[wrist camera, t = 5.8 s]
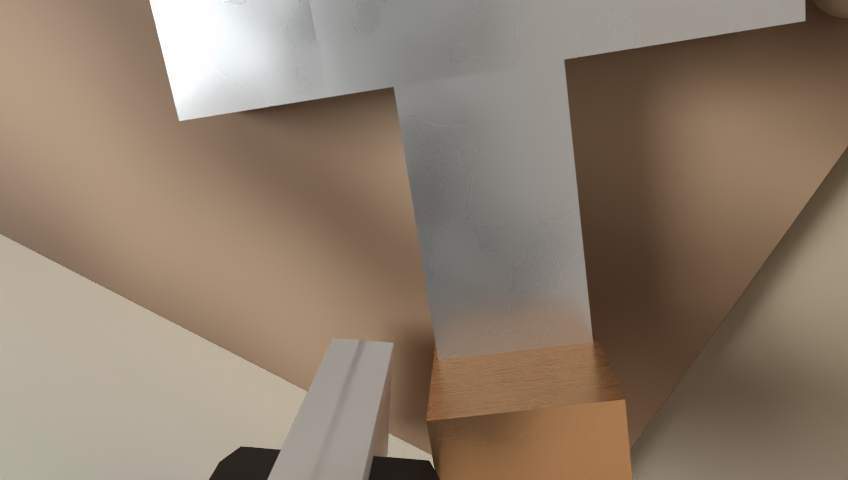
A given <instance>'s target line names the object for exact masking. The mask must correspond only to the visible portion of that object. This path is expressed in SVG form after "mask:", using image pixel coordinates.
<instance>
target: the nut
mask: <svg viewBox="0 0 848 480" xmlns="http://www.w3.org/2000/svg"><path fill="white" fill-rule="evenodd" d="M150 3H151V7H152V11H153V15H154V19H155V23H156V28H157V32H158V36H159V40H160V44H161V48H162V52H163V56H164V60H165V65H166V69H167V73H168V77H169V81H170V85H171V89H172V93H173V98H174V102H175V106H176V110H177V114H178V118H179V121H183V120H189V119H195V118H201V117H208V116H214V115H220V114H226V113H233V112H239V111H245V110H251V109H258V108H264V107H270V106H277V105H283V104H289V103H295V102H302V101H308V100H314V99H320V98H327V97H333V96H339V95H345V94H352V93H358V92H364V91H370V90H377V89H383V88H389V87H394V92H395V98H396V104H397V110H398V117H399V123H400V129H401V135H402V141H403V147H404V153H405V159H406V165H407V172H408V178H409V184H410V190H411V196H412V202H413V208H414V214H415V220H416V226H417V233H418V239H419V245H420V251H421V257H422V263H423V269H424V275H425V281H426V288H427V294H428V300H429V306H430V312H431V318H432V324H433V330H434V336H435V342H436V343H435V352H434V360H433V369H432V377H431V386H430V394H429V403H428V411H427V420H426V422H427V428H428V433H429V439H430V445H431V451H432V457H433V462H434V468H435V471H436V473H437V475H438V477H439V478H440V480H632V469H631V458H630V447H629V436H628V425H627V415H626V404H625V398H624V396H623V394H622V392H621V389H620V387H619V385H618V383H617V381H616V379H615V377H614V374H613V372H612V370H611V368H610V366H609V364H608V361H607V359H606V357H605V355H604V353H603V351H602V348H601V346H600V344H599V342H598V340H597V338H596V335H595V333H594V331H593V329H592V327H591V317H590V308H589V298H588V288H587V278H586V269H585V259H584V249H583V239H582V230H581V220H580V210H579V200H578V191H577V181H576V171H575V161H574V151H573V142H572V132H571V122H570V112H569V103H568V93H567V83H566V73H565V64H564V59H571V58H577V57H583V56H589V55H596V54H602V53H608V52H614V51H621V50H627V49H633V48H640V47H646V46H652V45H658V44H665V43H671V42H677V41H683V40H690V39H696V38H702V37H708V36H715V35H721V34H727V33H733V32H740V31H746V30H752V29H758V28H765V27H771V26H777V25H783V24H790V23H796V22H802V21H805V0H150Z"/></svg>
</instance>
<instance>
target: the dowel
mask: <svg viewBox="0 0 848 480" xmlns="http://www.w3.org/2000/svg"><path fill="white" fill-rule="evenodd" d="M812 2H813V3H814V4H815V5H816V6H817V7H818V8H819V9H820V10H822V11H823V12H825V13H827V14H829V15H831V16H835V17H839V18H848V0H812Z"/></svg>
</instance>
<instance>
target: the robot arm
mask: <svg viewBox="0 0 848 480" xmlns="http://www.w3.org/2000/svg"><path fill="white" fill-rule="evenodd" d="M393 346H394V343H391V342H379V341H367V340H355V339H342V338H332V340H331V342H330V344H329V346H328V349H327V351H326V353H325V355H324V357H323V359H322V362H321V364H320V366H319V368H318V370H317V373H316V375H315V377H314V379H313V381H312V383H311V386H310V388H309V390H308V392H307V394H306V396H305V399H304V401H303V403H302V405H301V407H300V410H299V412H298V414H297V416H296V418H295V420H294V423H293V425H292V427H291V429H290V431H289V434H288V436H287V438H286V440H285V442H284V444H283V447H282V449H281V450H276V449H264V448H253V447H240V448H238V449H237V450H235V451H234V452H233V453H231V454H230V455H229V456H227V457H226V458H224V459H223V460H222V461H220V462H219V464H218V466H217V467H216V469H215V471H214V472H213V474H212V476H211V477H210V479H209V480H440V478H439V477H438V475H437V473H436V471H435V470H434V468H433V466H432V465H431V463H430V461H427V460H415V459H404V458H392V457H387V452H388V434H389V416H390V399H391V381H392V363H393Z"/></svg>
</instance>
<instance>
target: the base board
mask: <svg viewBox="0 0 848 480" xmlns="http://www.w3.org/2000/svg"><path fill="white" fill-rule="evenodd" d="M564 64H565V73H566V83H567V93H568V103H569V112H570V122H571V132H572V142H573V151H574V161H575V171H576V181H577V191H578V200H579V210H580V220H581V230H582V239H583V249H584V259H585V269H586V278H587V288H588V298H589V308H590V317H591V327H592V329H593V331H594V333H595V335H596V338H597V340H598V342H599V344H600V346H601V348H602V351H603V353H604V355H605V357H606V359H607V361H608V364H609V366H610V368H611V370H612V372H613V374H614V377H615V379H616V381H617V383H618V385H619V387H620V389H621V392H622V394H623V396H624V398H625V404H626V415H627V425H628V436H629V447H630V449H631V447H632V446H633V445H634V443H635V442H636V440H637V439H638V438H639V436H640V435H641V434H642V432H643V431H644V429H645V428H646V427H647V425H648V424H649V422H650V421H651V420H652V418H653V417H654V415H655V414H656V413H657V411H658V410H659V408H660V407H661V406H662V404H663V403H664V401H665V400H666V399H667V397H668V396H669V394H670V393H671V392H672V390H673V389H674V388H675V386H676V385H677V383H678V382H679V381H680V379H681V378H682V376H683V375H684V374H685V372H686V371H687V369H688V368H689V367H690V365H691V364H692V362H693V361H694V360H695V358H696V357H697V355H698V354H699V353H700V351H701V350H702V348H703V347H704V346H705V344H706V343H707V342H708V340H709V339H710V337H711V336H712V335H713V333H714V332H715V330H716V329H717V328H718V326H719V325H720V323H721V322H722V321H723V319H724V318H725V316H726V315H727V314H728V312H729V311H730V309H731V308H732V307H733V305H734V304H735V302H736V301H737V300H738V298H739V297H740V296H741V294H742V293H743V291H744V290H745V289H746V287H747V286H748V284H749V283H750V282H751V280H752V279H753V277H754V276H755V275H756V273H757V272H758V270H759V269H760V268H761V266H762V265H763V263H764V262H765V261H766V259H767V258H768V257H769V255H770V254H771V252H772V251H773V250H774V248H775V247H776V245H777V244H778V243H779V241H780V240H781V238H782V237H783V236H784V234H785V233H786V231H787V230H788V229H789V227H790V226H791V224H792V223H793V222H794V220H795V219H796V217H797V216H798V215H799V213H800V212H801V211H802V209H803V208H804V206H805V205H806V204H807V202H808V201H809V199H810V198H811V197H812V195H813V194H814V192H815V191H816V190H817V188H818V187H819V185H820V184H821V183H822V181H823V180H824V178H825V177H826V176H827V174H828V173H829V171H830V170H831V169H832V167H833V166H834V165H835V163H836V162H837V160H838V159H839V158H840V156H841V155H842V153H843V152H844V151H845V149H846V148H847V146H848V18H839V17H835V16H831V15H829V14H827V13H825V12H823V11H822V10H820V9H819V8H818V7H817V6H816V5H815V4H814V3H813V2H812V0H805V21H802V22H796V23H790V24H783V25H777V26H771V27H765V28H758V29H752V30H746V31H740V32H733V33H727V34H721V35H715V36H708V37H702V38H696V39H690V40H683V41H677V42H671V43H665V44H658V45H652V46H646V47H640V48H633V49H627V50H621V51H614V52H608V53H602V54H596V55H589V56H583V57H577V58H571V59H564ZM0 234H2V235H4V236H6V237H8V238H9V239H11V240H13V241H15V242H17V243H19V244H21V245H23V246H25V247H27V248H29V249H31V250H33V251H35V252H37V253H39V254H41V255H43V256H45V257H47V258H48V259H50V260H52V261H54V262H56V263H58V264H60V265H62V266H64V267H66V268H68V269H70V270H72V271H74V272H76V273H78V274H80V275H82V276H84V277H86V278H87V279H89V280H91V281H93V282H95V283H97V284H99V285H101V286H103V287H105V288H107V289H109V290H111V291H113V292H115V293H117V294H119V295H121V296H123V297H125V298H127V299H128V300H130V301H132V302H134V303H136V304H138V305H140V306H142V307H144V308H146V309H148V310H150V311H152V312H154V313H156V314H158V315H160V316H162V317H164V318H166V319H167V320H169V321H171V322H173V323H175V324H177V325H179V326H181V327H183V328H185V329H187V330H189V331H191V332H193V333H195V334H197V335H199V336H201V337H203V338H205V339H206V340H208V341H210V342H212V343H214V344H216V345H218V346H220V347H222V348H224V349H226V350H228V351H230V352H232V353H234V354H236V355H238V356H240V357H242V358H244V359H246V360H247V361H249V362H251V363H253V364H255V365H257V366H259V367H261V368H263V369H265V370H267V371H269V372H271V373H273V374H275V375H277V376H279V377H281V378H283V379H285V380H286V381H288V382H290V383H292V384H294V385H296V386H298V387H300V388H302V389H304V390H306V391H308V390H309V388H310V386H311V383H312V381H313V379H314V377H315V375H316V373H317V370H318V368H319V366H320V364H321V362H322V359H323V357H324V355H325V353H326V351H327V349H328V346H329V344H330V342H331V340H332V338H342V339H355V340H367V341H379V342H391V343H394V346H393V363H392V381H391V399H390V416H389V433H390V434H392V435H394V436H396V437H398V438H400V439H402V440H404V441H405V442H407V443H409V444H411V445H413V446H415V447H417V448H419V449H421V450H423V451H425V452H427V453H429V454H431V455H432V451H431V445H430V439H429V433H428V428H427V422H426V420H427V411H428V403H429V394H430V386H431V377H432V369H433V360H434V352H435V343H436V342H435V336H434V330H433V324H432V318H431V312H430V306H429V300H428V294H427V288H426V281H425V275H424V269H423V263H422V257H421V251H420V245H419V239H418V233H417V226H416V220H415V214H414V208H413V202H412V196H411V190H410V184H409V178H408V172H407V165H406V159H405V153H404V147H403V141H402V135H401V129H400V123H399V117H398V110H397V104H396V98H395V92H394V87H389V88H383V89H377V90H370V91H364V92H358V93H352V94H345V95H339V96H333V97H327V98H320V99H314V100H308V101H302V102H295V103H289V104H283V105H277V106H270V107H264V108H258V109H251V110H245V111H239V112H233V113H226V114H220V115H214V116H208V117H201V118H195V119H189V120H183V121H179V118H178V114H177V110H176V106H175V102H174V98H173V93H172V89H171V85H170V81H169V77H168V73H167V69H166V65H165V60H164V56H163V52H162V48H161V44H160V40H159V36H158V32H157V28H156V23H155V19H154V15H153V11H152V7H151V3H150V0H0Z"/></svg>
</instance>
